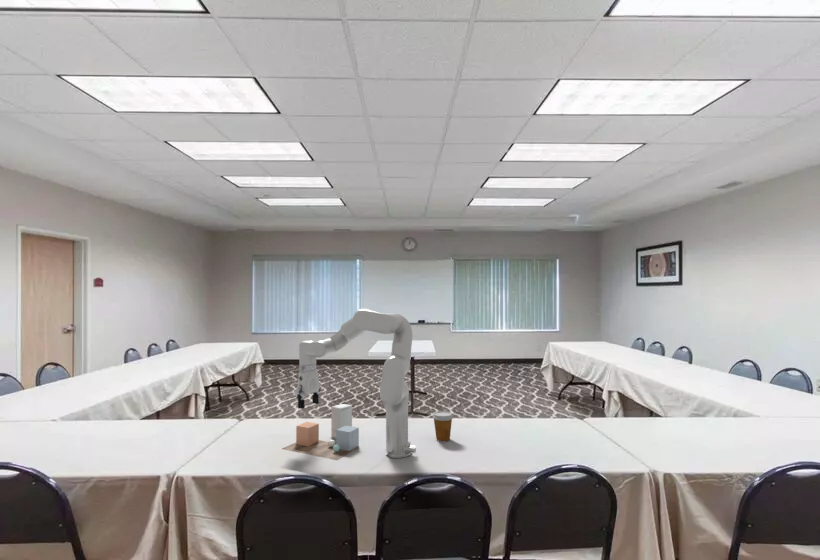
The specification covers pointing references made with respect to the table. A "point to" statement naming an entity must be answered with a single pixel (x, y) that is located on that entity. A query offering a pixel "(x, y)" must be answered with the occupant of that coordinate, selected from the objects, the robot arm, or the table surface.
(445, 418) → the disposable coffee cup
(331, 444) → the marble ivory
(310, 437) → the peach cube block
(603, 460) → the table surface
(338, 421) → the skincare box
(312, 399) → the robot arm
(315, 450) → the walnut board
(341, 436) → the pale blue cube
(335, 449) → the marble teal
